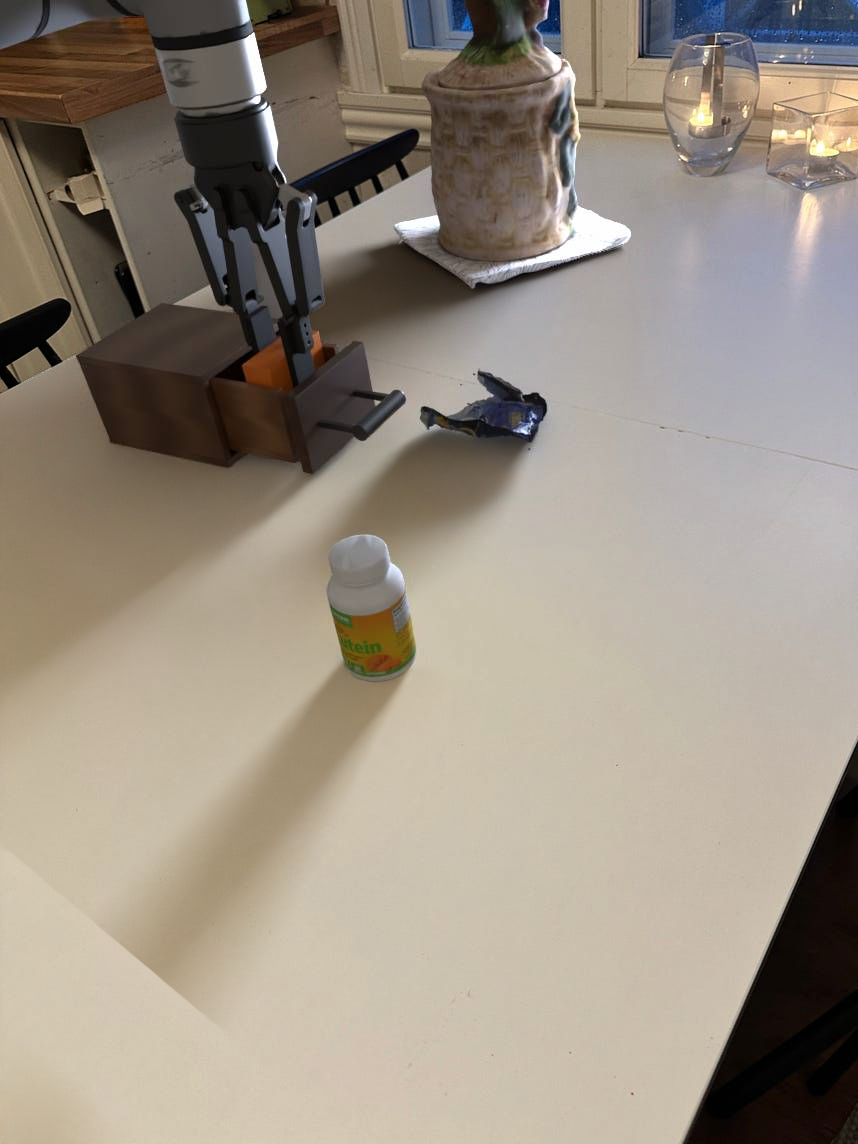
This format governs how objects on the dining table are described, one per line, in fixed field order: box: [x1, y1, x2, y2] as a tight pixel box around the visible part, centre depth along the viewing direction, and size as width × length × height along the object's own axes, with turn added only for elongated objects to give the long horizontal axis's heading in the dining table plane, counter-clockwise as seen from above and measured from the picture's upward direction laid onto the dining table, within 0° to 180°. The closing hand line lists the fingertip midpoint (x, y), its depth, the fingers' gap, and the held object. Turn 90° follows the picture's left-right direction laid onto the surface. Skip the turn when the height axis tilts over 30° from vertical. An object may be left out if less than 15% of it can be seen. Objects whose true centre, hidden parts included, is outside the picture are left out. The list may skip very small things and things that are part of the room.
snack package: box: [419, 369, 548, 451], centre depth 92 cm, size 12×6×12 cm
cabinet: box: [75, 302, 280, 469], centre depth 96 cm, size 16×13×10 cm
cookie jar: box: [393, 0, 631, 289], centre depth 120 cm, size 25×25×32 cm
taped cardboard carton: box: [242, 330, 325, 400], centre depth 89 cm, size 3×8×4 cm, turn 153°
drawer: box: [208, 335, 407, 475], centre depth 91 cm, size 20×11×8 cm, turn 63°
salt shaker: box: [252, 242, 283, 319], centre depth 109 cm, size 6×6×13 cm
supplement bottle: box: [326, 534, 418, 682], centre depth 67 cm, size 5×5×10 cm
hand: (289, 380), depth 90 cm, fingers closed on taped cardboard carton, 3 cm apart
